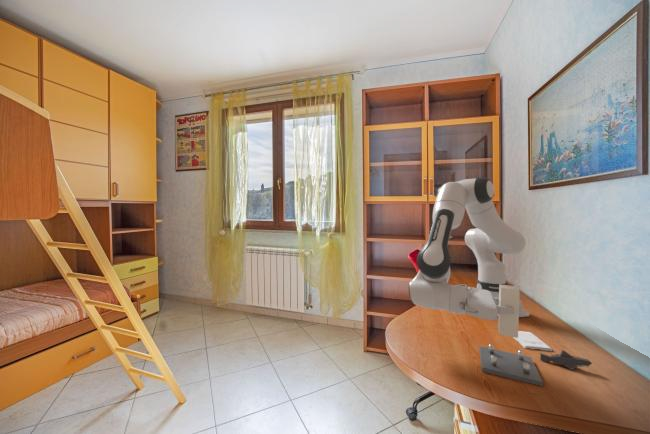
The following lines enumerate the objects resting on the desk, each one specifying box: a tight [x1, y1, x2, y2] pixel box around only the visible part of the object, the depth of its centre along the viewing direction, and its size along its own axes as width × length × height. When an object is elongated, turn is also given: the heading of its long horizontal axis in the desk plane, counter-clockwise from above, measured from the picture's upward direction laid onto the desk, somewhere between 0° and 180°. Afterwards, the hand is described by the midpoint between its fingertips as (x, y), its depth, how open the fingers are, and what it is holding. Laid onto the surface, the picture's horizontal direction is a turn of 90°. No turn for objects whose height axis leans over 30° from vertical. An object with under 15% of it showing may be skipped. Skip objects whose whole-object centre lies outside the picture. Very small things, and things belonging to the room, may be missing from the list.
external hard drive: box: [512, 330, 553, 352], centre depth 97 cm, size 2×8×12 cm
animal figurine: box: [539, 349, 592, 371], centre depth 81 cm, size 12×4×5 cm, turn 57°
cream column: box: [497, 284, 521, 338], centre depth 81 cm, size 4×4×14 cm
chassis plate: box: [478, 343, 544, 387], centre depth 81 cm, size 14×14×4 cm
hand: (512, 307), depth 80 cm, fingers closed on cream column, 4 cm apart
